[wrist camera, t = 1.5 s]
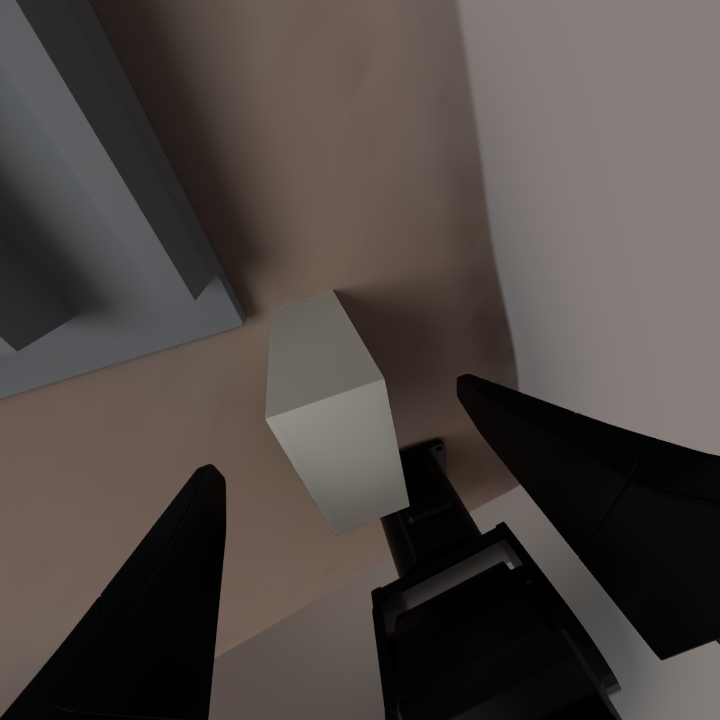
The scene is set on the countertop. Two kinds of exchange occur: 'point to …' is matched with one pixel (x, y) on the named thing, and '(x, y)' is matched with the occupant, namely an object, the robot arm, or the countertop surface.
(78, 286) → the rack
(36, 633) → the countertop surface
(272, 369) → the block
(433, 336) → the countertop surface
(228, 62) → the countertop surface
